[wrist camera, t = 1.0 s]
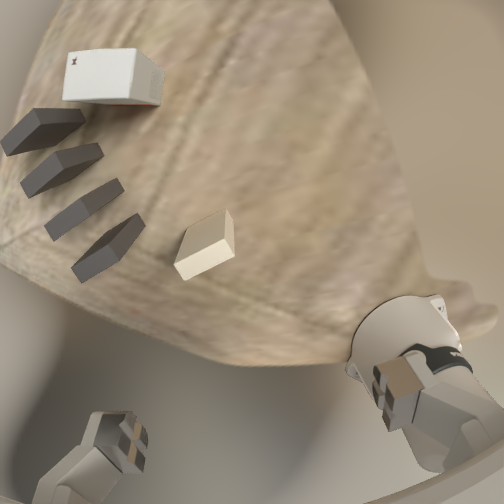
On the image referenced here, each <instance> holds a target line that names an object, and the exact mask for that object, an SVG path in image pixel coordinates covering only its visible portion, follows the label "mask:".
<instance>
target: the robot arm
mask: <svg viewBox="0 0 504 504" xmlns="http://www.w3.org/2000/svg"><path fill="white" fill-rule="evenodd" d="M459 341H460V338H459V336H458V333H457V331H456V330H455V329H454V327H453V326H452V325H451V324H450V322H449V321H448V317H447V312H446V307H445V303H444V300H443V298H442V297H441V296H440V295H433V296H429V297H418V296H402V297H398V298H395V299H392V300H390V301H388V302H386V303H384V304H382V305H381V306H379V307H378V308H376V309H375V310H374V311H373V312H372V313H371V314H369V315H368V317H367V318H366V319H365V320H364V321H363V322H362V324H361V325H360V327H359V328H358V330H357V332H356V334H355V337H354V340H353V344H352V355H351V358H350V359H349V361H348V363H347V365H346V367H345V371H346V373H347V374H348V375H349V376H350V377H352V378H354V379H357V380H358V381H360V382H362V383H363V384H364V386H365V388H366V389H367V391H368V393H369V395H370V396H371V398H372V399H373V400H375V403H376V405H377V407H378V408H379V409H381V410H383V416H382V418H383V420H384V423H385V425H386V427H387V429H388V431H389V432H391V431H394V430H397V429H399V428H402V430H403V432H404V434H405V436H406V438H407V440H408V443H409V445H410V447H411V449H412V451H413V453H414V456H415V458H416V460H417V462H418V464H419V465H420V466H421V467H422V468H423V469H425V470H427V471H430V472H435V473H441V474H439V475H437V476H435V477H433V478H430V479H428V480H426V481H424V482H421V483H419V484H417V485H414V486H412V487H409V488H407V489H405V490H402V491H399V492H397V493H394V494H391V495H388V496H386V497H383V498H380V499H377V500H374V501H371V502H368V503H364V504H504V409H503V408H502V407H501V406H500V405H499V404H498V403H497V402H496V401H495V400H494V399H493V398H492V397H491V396H490V394H489V393H488V392H487V391H486V390H485V389H484V388H483V386H482V385H481V384H480V383H479V381H478V380H477V379H476V378H475V376H474V375H473V371H472V368H471V366H470V364H469V363H468V361H467V359H466V358H465V356H464V355H462V354H461V353H460V352H461V351H462V345H461V343H460V342H459ZM147 445H148V437H147V432H146V430H145V428H144V427H143V425H142V424H140V423H138V422H137V421H136V416H135V414H134V413H133V412H132V411H104V412H102V411H96V412H93V413H92V414H91V416H90V419H89V422H88V425H87V428H86V431H85V434H84V436H83V439H82V443H81V445H80V446H76V447H75V448H74V449H73V450H72V451H71V452H70V453H69V454H68V455H66V456H65V457H64V458H63V459H62V460H61V461H60V462H59V463H58V464H57V465H56V466H55V467H53V468H52V469H51V470H50V471H49V472H48V473H47V474H46V475H44V476H43V477H42V478H41V479H40V480H39V483H38V486H37V489H36V492H35V496H34V498H33V502H32V504H100V503H101V502H102V501H103V499H104V498H105V497H106V496H107V494H108V493H109V492H110V490H111V489H112V488H113V486H114V485H115V484H116V482H117V481H118V480H119V479H120V477H121V476H122V475H123V474H122V473H143V470H144V464H145V457H144V455H143V454H142V453H143V452H144V451H145V450H146V449H147ZM0 504H23V503H20V502H17V501H14V500H11V499H8V498H6V497H3V496H0Z"/></svg>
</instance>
